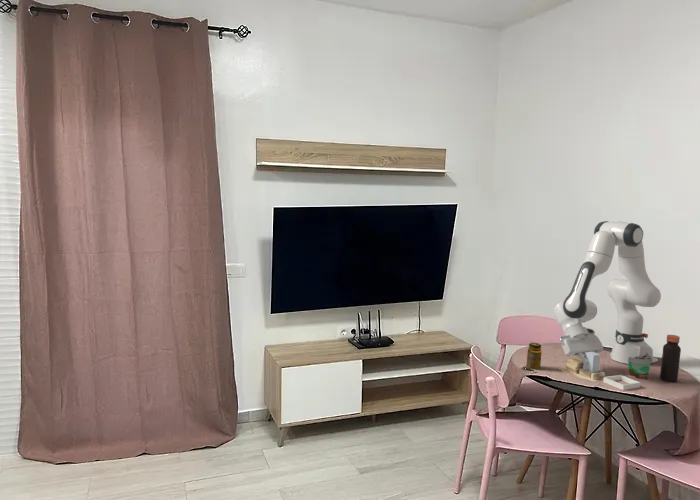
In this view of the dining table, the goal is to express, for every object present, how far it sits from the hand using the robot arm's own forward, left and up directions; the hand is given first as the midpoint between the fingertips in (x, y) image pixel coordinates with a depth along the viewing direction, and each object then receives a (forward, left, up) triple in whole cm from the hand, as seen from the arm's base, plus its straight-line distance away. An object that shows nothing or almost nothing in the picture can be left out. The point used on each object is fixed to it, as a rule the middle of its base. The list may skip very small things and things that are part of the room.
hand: (590, 362), depth 254 cm
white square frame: (-4, +13, -7) cm, 16 cm away
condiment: (+18, -17, -7) cm, 26 cm away
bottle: (-32, +14, -7) cm, 36 cm away
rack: (0, -3, -7) cm, 7 cm away
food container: (-21, +9, -7) cm, 24 cm away
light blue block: (0, 0, -6) cm, 6 cm away
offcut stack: (0, -7, -6) cm, 9 cm away
